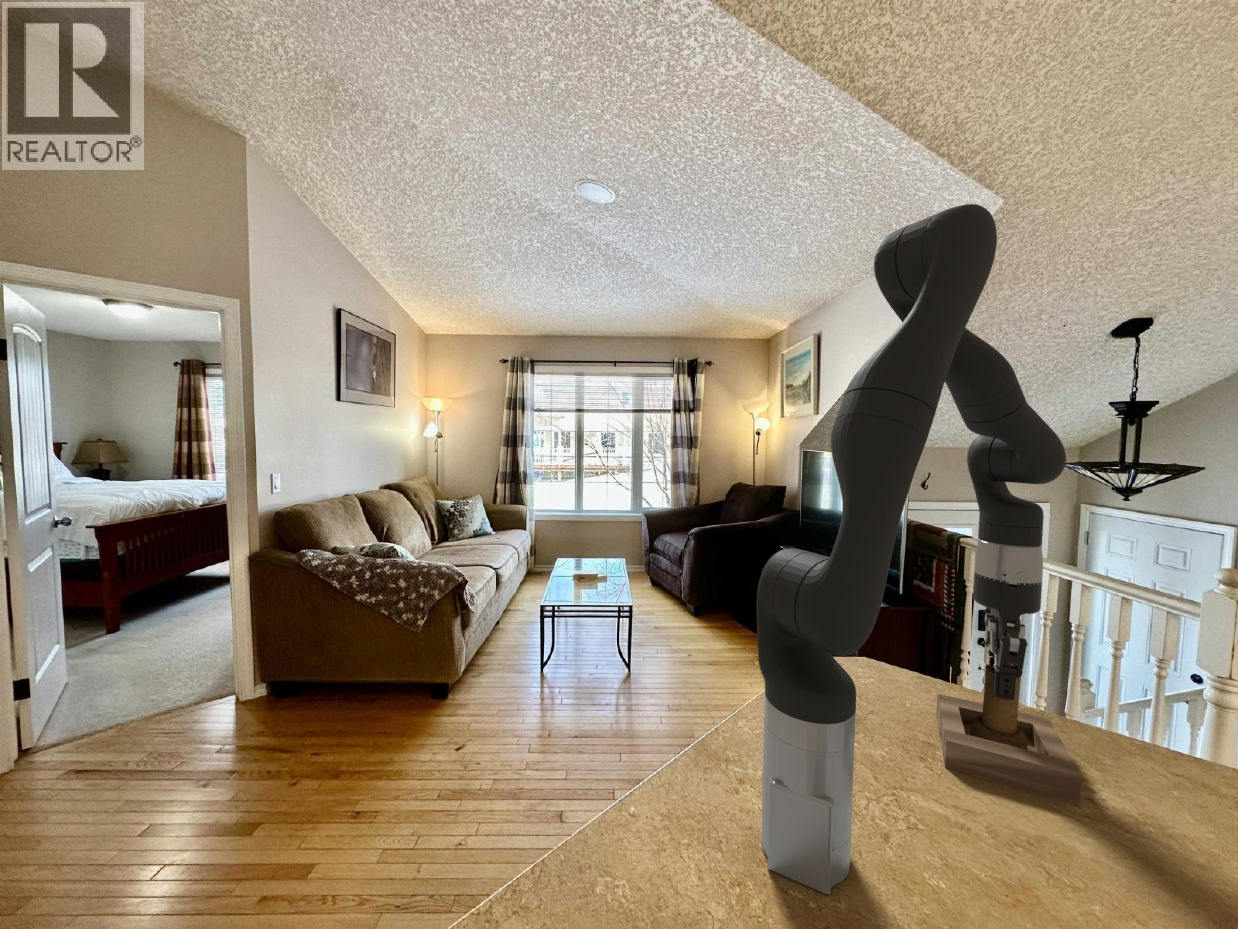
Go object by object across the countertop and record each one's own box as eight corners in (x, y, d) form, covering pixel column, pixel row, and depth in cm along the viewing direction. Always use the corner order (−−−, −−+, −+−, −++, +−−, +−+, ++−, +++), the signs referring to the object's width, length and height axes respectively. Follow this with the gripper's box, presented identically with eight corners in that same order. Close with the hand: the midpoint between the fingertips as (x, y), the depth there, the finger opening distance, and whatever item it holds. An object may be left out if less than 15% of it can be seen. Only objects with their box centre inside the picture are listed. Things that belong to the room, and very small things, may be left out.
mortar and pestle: (1038, 763, 66) (1047, 635, 65) (984, 757, 67) (992, 631, 66) (1009, 734, 72) (1016, 617, 71) (961, 728, 74) (967, 613, 72)
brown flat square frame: (1079, 810, 60) (1081, 775, 60) (944, 771, 67) (946, 740, 67) (1047, 747, 72) (1049, 718, 72) (936, 720, 79) (937, 693, 79)
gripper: (967, 558, 76) (962, 664, 77) (982, 582, 64) (976, 707, 65) (1028, 565, 73) (1022, 676, 74) (1057, 591, 60) (1049, 724, 61)
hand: (1000, 690), depth 69 cm, fingers closed on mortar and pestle, 4 cm apart
